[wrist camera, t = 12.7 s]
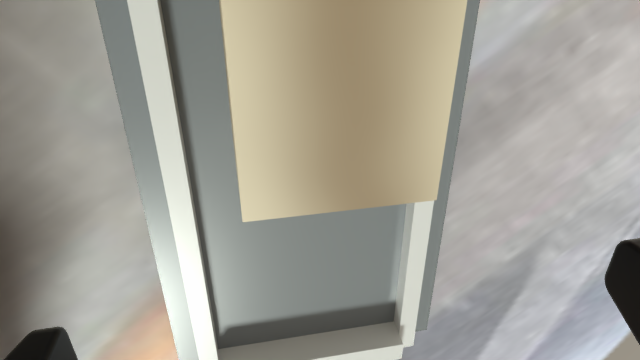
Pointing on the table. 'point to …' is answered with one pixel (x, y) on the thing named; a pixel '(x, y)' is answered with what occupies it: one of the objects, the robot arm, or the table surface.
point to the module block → (339, 101)
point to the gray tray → (264, 235)
